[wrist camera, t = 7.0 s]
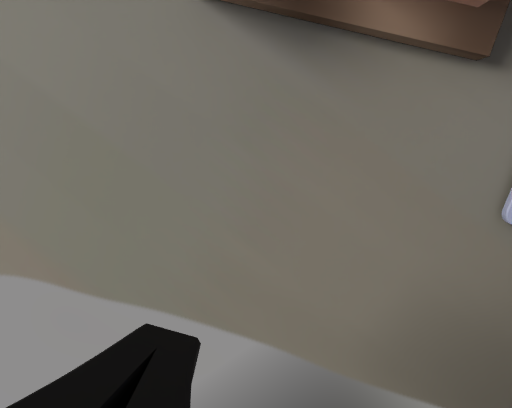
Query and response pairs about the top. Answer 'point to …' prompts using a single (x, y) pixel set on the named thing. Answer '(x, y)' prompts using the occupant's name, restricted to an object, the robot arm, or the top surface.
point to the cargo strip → (403, 21)
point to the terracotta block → (471, 2)
